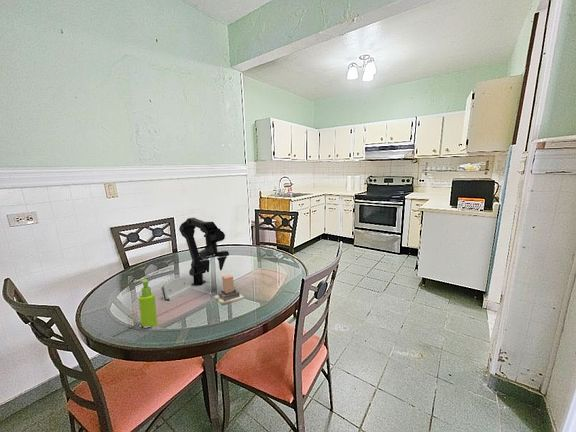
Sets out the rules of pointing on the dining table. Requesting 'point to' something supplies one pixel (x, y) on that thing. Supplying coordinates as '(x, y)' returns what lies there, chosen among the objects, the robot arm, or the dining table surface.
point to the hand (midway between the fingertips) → (214, 271)
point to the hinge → (175, 288)
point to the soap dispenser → (147, 305)
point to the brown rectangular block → (228, 284)
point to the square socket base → (228, 297)
